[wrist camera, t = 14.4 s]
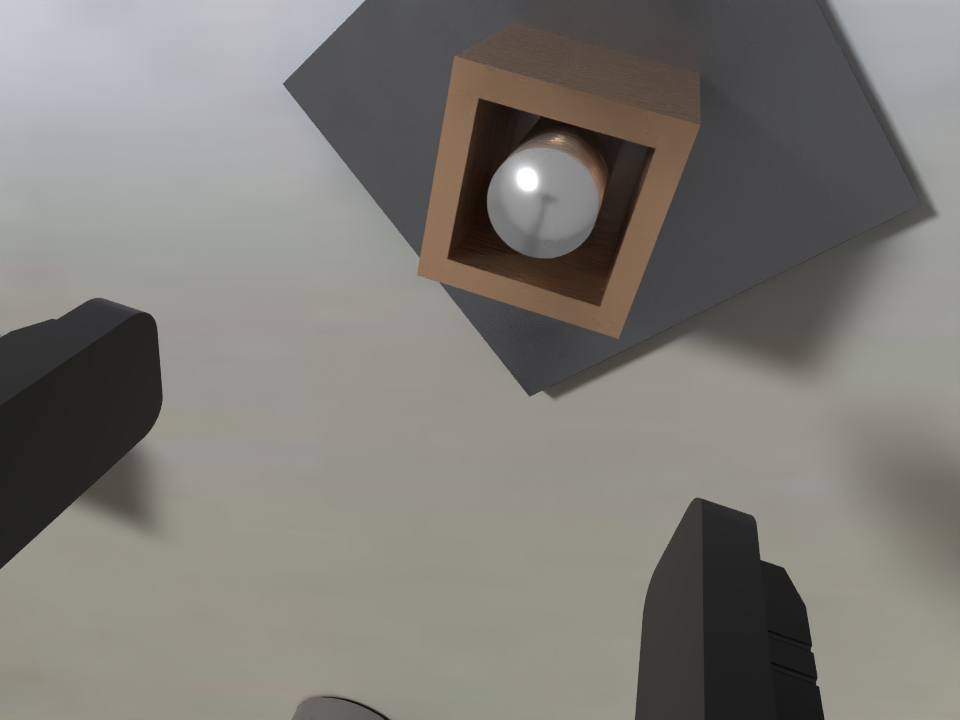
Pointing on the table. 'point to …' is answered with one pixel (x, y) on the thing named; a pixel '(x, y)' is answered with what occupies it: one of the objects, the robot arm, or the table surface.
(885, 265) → the table surface
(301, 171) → the table surface
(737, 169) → the grey square plate
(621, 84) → the wooden cubby box
